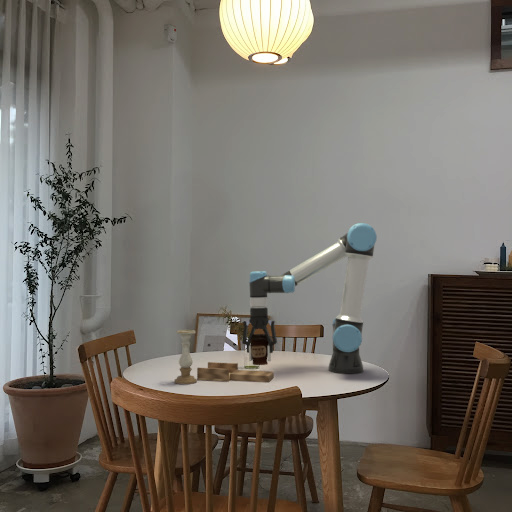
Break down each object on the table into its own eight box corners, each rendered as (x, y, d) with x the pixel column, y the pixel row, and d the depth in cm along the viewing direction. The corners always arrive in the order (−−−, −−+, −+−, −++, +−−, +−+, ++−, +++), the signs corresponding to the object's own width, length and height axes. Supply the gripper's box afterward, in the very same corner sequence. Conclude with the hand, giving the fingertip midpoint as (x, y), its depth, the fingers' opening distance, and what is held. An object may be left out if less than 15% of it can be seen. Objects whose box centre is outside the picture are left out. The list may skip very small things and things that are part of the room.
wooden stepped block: (274, 376, 241) (274, 365, 242) (267, 383, 227) (267, 371, 227) (208, 373, 248) (208, 362, 248) (197, 379, 233) (197, 367, 233)
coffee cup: (268, 366, 243) (267, 335, 243) (248, 366, 244) (248, 335, 244) (271, 363, 251) (271, 333, 251) (252, 362, 253) (252, 333, 253)
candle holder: (176, 384, 223) (176, 332, 224) (172, 380, 232) (173, 329, 232) (198, 383, 226) (198, 331, 226) (194, 379, 234) (194, 329, 234)
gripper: (283, 306, 250) (284, 359, 249) (238, 306, 254) (239, 358, 254) (280, 307, 242) (281, 362, 242) (233, 308, 247) (234, 361, 246)
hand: (260, 360), depth 248 cm, fingers closed on coffee cup, 7 cm apart
